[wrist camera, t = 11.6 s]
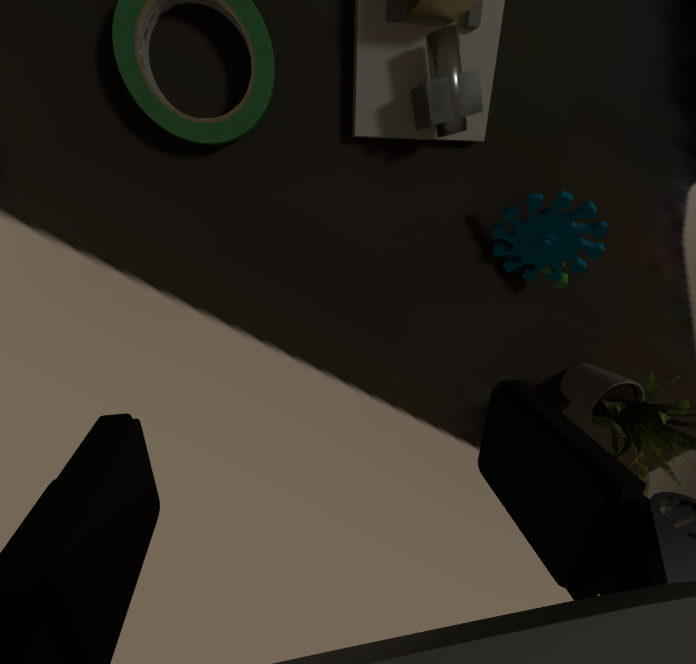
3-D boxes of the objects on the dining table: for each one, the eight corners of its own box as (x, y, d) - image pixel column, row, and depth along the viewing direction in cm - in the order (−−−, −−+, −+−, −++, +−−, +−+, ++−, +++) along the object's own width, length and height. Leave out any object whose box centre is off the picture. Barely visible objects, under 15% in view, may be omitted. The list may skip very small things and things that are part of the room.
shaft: (404, 47, 30) (419, 33, 27) (455, 34, 30) (476, 18, 27) (417, 142, 33) (433, 139, 30) (464, 130, 33) (484, 125, 30)
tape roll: (220, 175, 32) (216, 175, 30) (95, 67, 28) (78, 57, 26) (302, 67, 30) (305, 58, 28) (181, -67, 26) (172, -91, 24)
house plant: (629, 304, 46) (799, 367, 31) (638, 386, 52) (784, 472, 37) (525, 357, 46) (645, 444, 31) (547, 433, 52) (655, 536, 37)
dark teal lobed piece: (476, 215, 36) (600, 184, 30) (488, 183, 39) (602, 149, 33) (506, 297, 42) (614, 286, 36) (514, 264, 45) (615, 248, 39)
